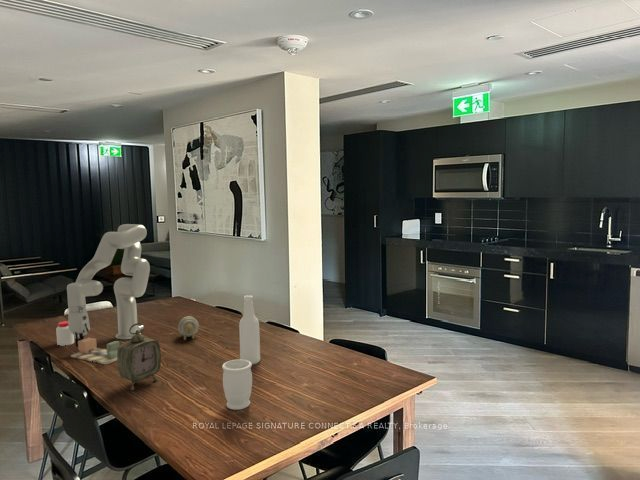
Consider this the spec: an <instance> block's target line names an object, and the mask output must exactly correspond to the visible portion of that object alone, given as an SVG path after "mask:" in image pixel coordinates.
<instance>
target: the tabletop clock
mask: <svg viewBox="0 0 640 480" xmlns="http://www.w3.org/2000/svg"><path fill="white" fill-rule="evenodd" d="M135 325H137V326H138V325H139V326H141V325H143V327H144V328H143V329H140V330H139V331H138V330H136V333H132V332H131V331H130V330H131V328H132V327H133V326H135ZM145 327H146V326H145V324H144V323H142V322H137V323H136V324H134V325H132V326H131V327H130V329H129V332H130V333H131V334H135V335H133V336H132V338H131V339H130V340H129V341H127V342H124V343H122V344H121V345H120V346H119V347H118V351H117V361H116V363H117V370H118V373H119V376H120V378H121V379H126V380H130V381H131V386H130V387H129V388H130V389H129V390H130V391H135V386H134V384H138V383H139V381H142V380H145V379H149V378H150V377H152V378H153V379H152V380H153V381H154V382H156V381H157V380H158V377H157V376H155V375H156V374H157V373H158V372H159V371H160V369H161V363H162V361H161V360H162V357H161V347H160V343H159V341H158V340H156V339H151V338H147V337H145V336H144V335H143V334H142V332H143V331H144V330H145ZM139 333H141V334H139Z"/></svg>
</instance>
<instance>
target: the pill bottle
mask: <svg viewBox="0 0 640 480" xmlns="http://www.w3.org/2000/svg"><path fill="white" fill-rule="evenodd" d="M57 324H58V325H57V327H56V329H55V331H56V334H55V335H56V345H57V346H58V345H60V346H59V347H64V346H65V345H66V346H69V345H70V346H71V345H72V344H74V343H75V338H74V334H72V333H71V331H70V330H69V327H68V320H64V321H59V322H58V323H57Z"/></svg>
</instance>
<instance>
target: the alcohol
mask: <svg viewBox="0 0 640 480" xmlns="http://www.w3.org/2000/svg"><path fill="white" fill-rule="evenodd" d="M238 328H239V329H238V330H239V358H240V359H243V360H248V361H250V362H251V363H252V366H253V365H257V364H258V363H259V362H260V361H261V343H260V341H261V339H260V335H261V334H260V321H259V319H258V318H257V316H256V315H255V309H254V298H253V295H252V294H247V295H244V296H243V316H242V317H241V319H240V320H239V324H238Z"/></svg>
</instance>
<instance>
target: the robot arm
mask: <svg viewBox="0 0 640 480" xmlns="http://www.w3.org/2000/svg"><path fill="white" fill-rule="evenodd" d="M147 232H148V231H147V228H146V227H145V226H144V225H143V224H138V223H137V224H135V223H133V224H131V223H126V224H123V223H122V224H121V225H119V226H118V228H117V231H108V232H105V233H104V234H103V235H102V236H101V237H102V238H101V240H100V242H99V244H98V246H97V249H96V251H95V254H94V256H93V257H92V259H91V260H90V261H88V262H87V264H85V266H83V267H82V269H81V270H80V272H79V273H78V276H77V278H76V280H75V282H71V283H69V284H67V286H66V293H67V307H68V310H67V311H68V313H67V315H68V316H67V317H68V318H67V319H68V320H67V321H68V327H69V330H70V331H71V333H72V334H74V343H75V347H76V348H78V341H79V340H82V339H85V336H88V332H90V331H91V326H90V319H89V314H88V311H87V303H86V297H95V296H99V295H100V294H101V293H102V292H103V290H104V285H103V283H101V281H98V280H95V279H93V278H94V276H95V275H96V273H99V271H100V270H102V269H104V268H107V267H108V266H110V265H111V264H112V261H113V260H114V257H115V255H116V253H117V250H118V249H120V250H124V251H123V257H122V261H121V263H120V264H121V265H120V271H121V273H122V274H124V275H125V276H131V277H120V278H118V279H117V280H115V282H114V284H113V292H114V295H115V300H116V313H117V330H118V331H117V332H118V333H116V334H115V339H118V340H131V338H132V336H133V335H135V334H131V333H130V332H129V329H130V327H131V326H132V325H134V324H136V323H138V312H137V311H138V310H137V301H136V298H139V297H140V298H141V297H142V296H143V295H144V294H145V292H146V289H147V286H148V283H149V282H148V281H149V277H150V272H151V267H150V262H149V261H148V260H147V259H146V258H141V255H142V245H141V241H143V240H144V239H146V238H147V234H148V233H147ZM143 328H144V327H143V325H141V324H139V325H135V326H133V327H132V328H131V330H130V331H131V332H132V333H136V330H138V331H141V330H142V329H143ZM144 329H145V328H144ZM139 334H142V332H141V333H139Z"/></svg>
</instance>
